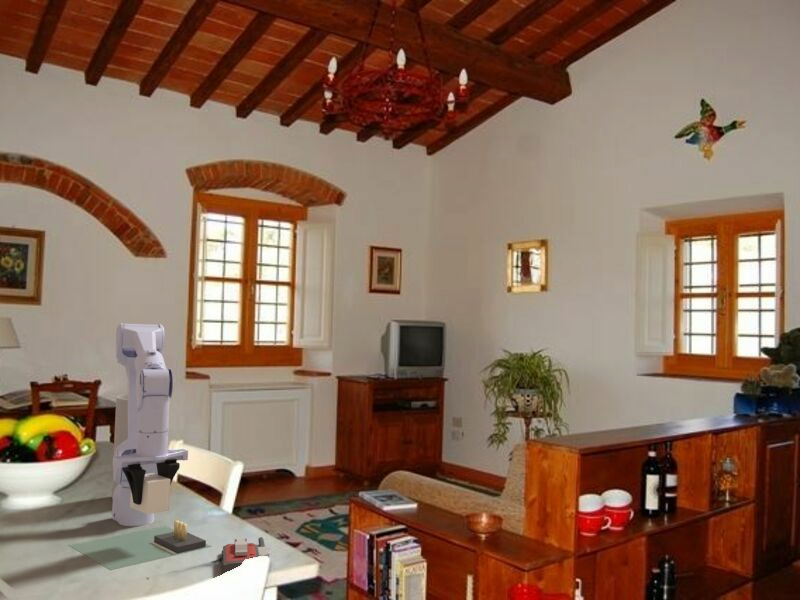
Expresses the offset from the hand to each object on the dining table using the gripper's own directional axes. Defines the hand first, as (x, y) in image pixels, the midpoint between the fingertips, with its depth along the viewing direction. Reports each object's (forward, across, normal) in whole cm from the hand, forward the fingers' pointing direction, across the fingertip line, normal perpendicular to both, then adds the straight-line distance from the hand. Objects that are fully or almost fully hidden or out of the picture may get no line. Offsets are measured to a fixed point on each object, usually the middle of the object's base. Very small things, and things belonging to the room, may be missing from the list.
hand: (149, 501), depth 139 cm
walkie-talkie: (+10, +11, -17) cm, 23 cm away
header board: (+9, -1, +1) cm, 9 cm away
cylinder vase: (+9, +16, +38) cm, 42 cm away
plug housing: (+1, 0, 0) cm, 1 cm away
